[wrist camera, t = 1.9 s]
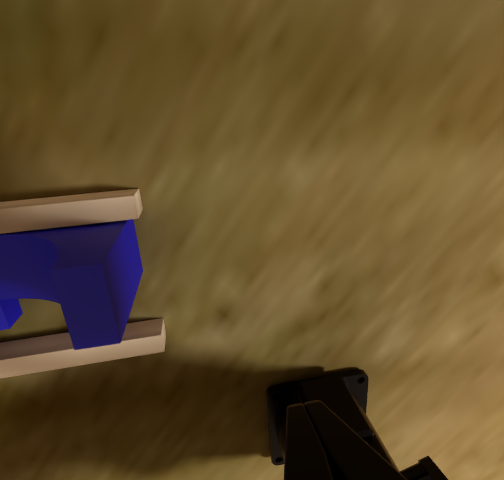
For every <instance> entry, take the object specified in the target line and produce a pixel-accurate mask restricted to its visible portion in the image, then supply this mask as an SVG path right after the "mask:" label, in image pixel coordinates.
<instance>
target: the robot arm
mask: <svg viewBox="0 0 504 480" xmlns="http://www.w3.org/2000/svg"><path fill="white" fill-rule="evenodd" d="M360 377H361V378H360ZM367 392H368V376H367V374H366V373H365V372H364V370H354V371H348V372H343V373H337V374H332V375H327V376H321V377H316V378H310V379H305V380H300V381H294V382H289V383H283V384H278V385H273V386H271V387H269V388H268V389H267V392H266V396H267V411H268V426H269V442H270V456H271V460H272V463H273V464H274V465H282V464H285V465H284V480H448V479H447V478H446V476H445V475H444V474H443V473H442V472H441V470H440V469H439V468H438V467H437V466H436V464H435V463H434V462H433V461H432V460H431V458H430V457H429V456H427V457H424V458H422V459H420V460H418V462H419V463H417V464H415V465H413V466H411V467H408V468H406V469H404V470H402V471H400V472H399V470H398V468H397V467H396V465H395V463H394V461H393V460H392V458H391V456H390V455H389V453H388V451H387V450H386V448H385V446H384V444H383V443H382V441H381V439H380V438H379V436H378V434H377V433H376V431H375V429H374V427H373V426H372V424H371V422H370V421H369V419H368V417H367V415H366V405H367ZM275 393H277V394H275ZM273 394H275V395H273Z"/></svg>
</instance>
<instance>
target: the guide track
mask: <svg viewBox="0 0 504 480" xmlns="http://www.w3.org/2000/svg"><path fill="white" fill-rule="evenodd" d="M142 210H143V208H142V202H141V197H140V192H139V189H128V190H118V191H108V192H98V193H87V194H77V195H67V196H57V197H46V198H36V199H26V200H16V201H6V202H0V234H2V233H12V232H21V231H30V230H39V229H48V228H57V227H66V226H75V225H85V224H94V223H103V222H112V221H121V220H130V219H138V218H139V216H140V214H141V212H142ZM165 341H166V330H165V324H164V319H163V318H160V319H154V320H147V321H140V322H134V323H127V324H126V328H125V331H124V334H123V337H122V341H121V343H120V344H113V345H107V346H100V347H93V348H86V349H80V350H74V347H73V344H72V341H71V337H70V334H69V332H67V333H60V334H54V335H47V336H40V337H34V338H27V339H20V340H14V341H7V342H0V378H6V377H12V376H18V375H24V374H30V373H36V372H43V371H49V370H55V369H61V368H67V367H73V366H79V365H85V364H91V363H98V362H104V361H110V360H116V359H122V358H128V357H134V356H140V355H147V354H153V353H159V352H164V350H165Z"/></svg>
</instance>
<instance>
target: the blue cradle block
mask: <svg viewBox="0 0 504 480" xmlns="http://www.w3.org/2000/svg"><path fill="white" fill-rule="evenodd" d="M142 272H143V269H142V263H141V258H140V253H139V248H138V242H137V237H136V232H135V226H134V221H133V219H130V220H121V221H112V222H103V223H94V224H85V225H75V226H66V227H57V228H48V229H39V230H30V231H21V232H12V233H2V234H0V330H4V329H10V328H11V326H12V325H13V324H14V323H15V322H16V320H17V319H18V318H19V317H20V316H21V315H22V310H21V307H20V304H19V301H18V299H20V298H31V299H44V300H49V301H54V302H57V303H60V304H61V307H62V311H63V314H64V317H65V321H66V324H67V327H68V331H69V334H70V337H71V341H72V344H73V347H74V350H80V349H86V348H93V347H100V346H107V345H113V344H120V343H121V341H122V337H123V334H124V331H125V328H126V324H127V321H128V318H129V315H130V311H131V308H132V305H133V301H134V298H135V295H136V292H137V288H138V285H139V282H140V278H141V275H142Z"/></svg>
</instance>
